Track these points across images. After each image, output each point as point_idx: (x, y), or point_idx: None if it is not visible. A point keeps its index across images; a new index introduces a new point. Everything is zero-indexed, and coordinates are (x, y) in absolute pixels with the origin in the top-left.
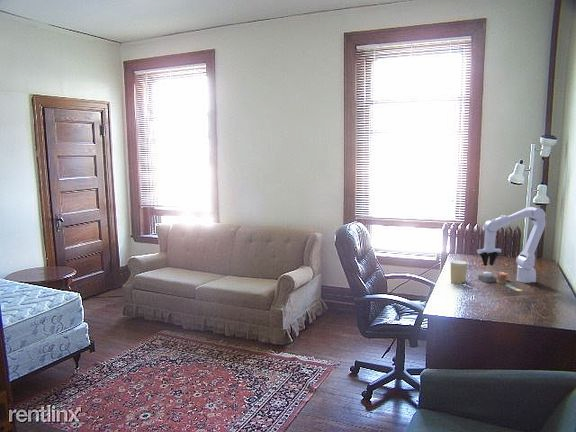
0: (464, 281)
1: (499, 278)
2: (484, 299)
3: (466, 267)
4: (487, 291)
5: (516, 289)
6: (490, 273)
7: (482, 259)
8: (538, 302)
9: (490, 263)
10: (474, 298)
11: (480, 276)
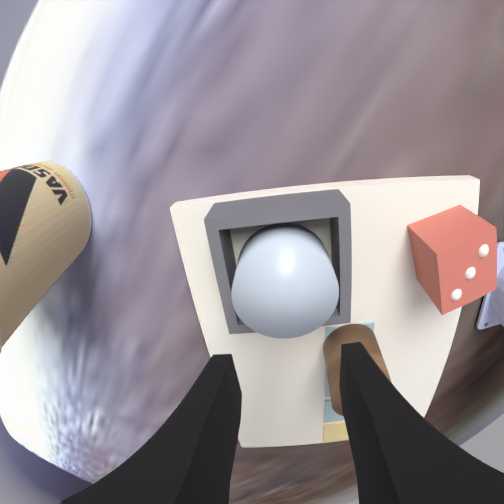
0: (71, 263)
1: (328, 377)
2: (131, 445)
3: (8, 338)
4: (179, 398)
5: (338, 429)
6: (300, 324)
7: (163, 427)
8: (317, 481)
9: (343, 378)
10: (98, 430)
11: (212, 249)
